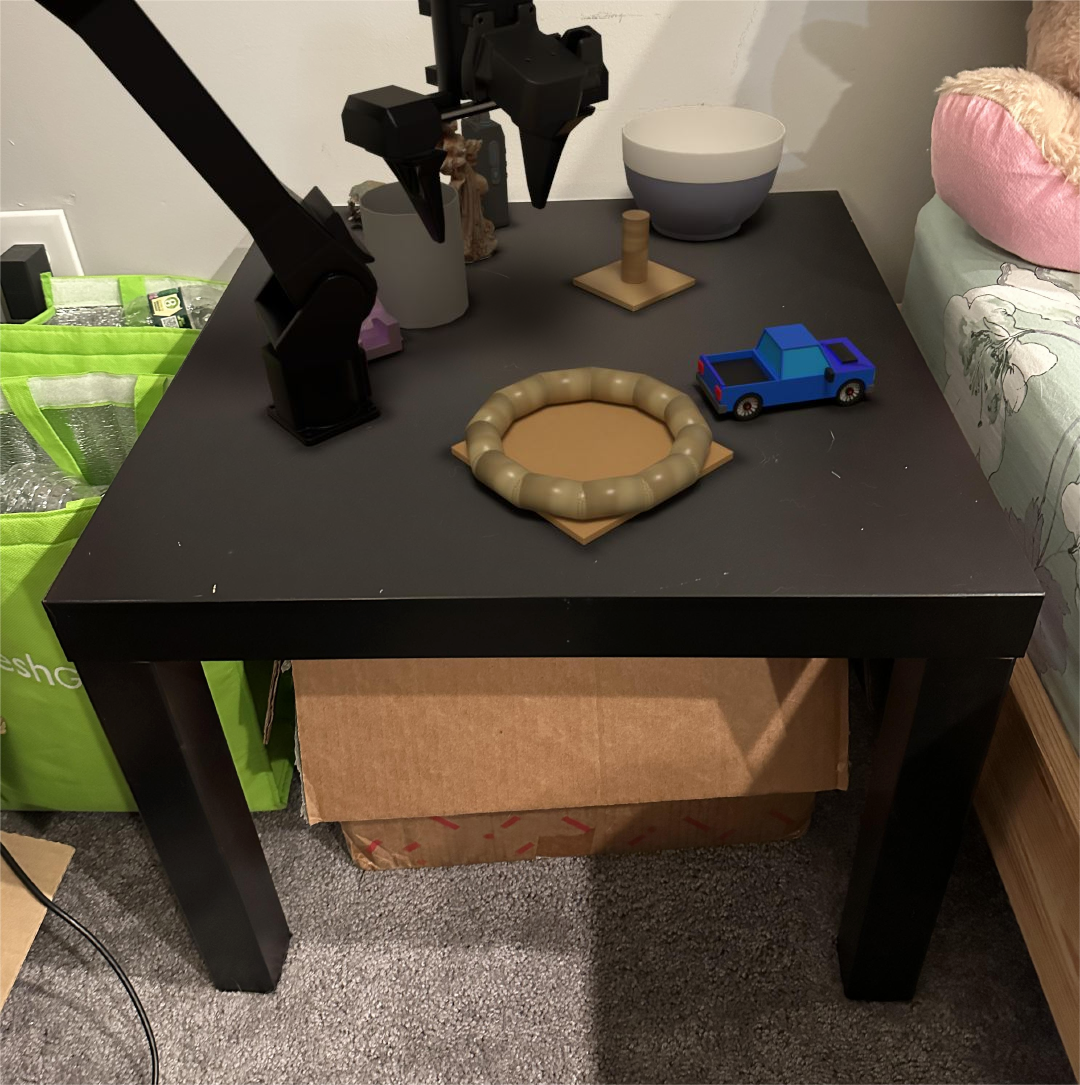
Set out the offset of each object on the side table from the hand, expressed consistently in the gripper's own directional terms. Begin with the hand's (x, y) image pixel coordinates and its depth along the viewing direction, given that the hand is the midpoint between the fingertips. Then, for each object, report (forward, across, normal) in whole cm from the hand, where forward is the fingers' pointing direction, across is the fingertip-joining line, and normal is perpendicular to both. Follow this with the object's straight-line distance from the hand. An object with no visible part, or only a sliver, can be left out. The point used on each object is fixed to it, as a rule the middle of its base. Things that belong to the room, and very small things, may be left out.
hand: (490, 224), depth 69 cm
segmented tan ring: (+10, -3, -14) cm, 18 cm away
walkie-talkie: (+12, +19, +26) cm, 34 cm away
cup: (+12, +2, +14) cm, 19 cm away
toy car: (+12, +13, -18) cm, 25 cm away
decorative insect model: (+12, +10, +33) cm, 37 cm away
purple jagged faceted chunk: (+12, -6, +12) cm, 18 cm away
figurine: (+12, +12, +21) cm, 27 cm away
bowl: (+12, +34, +10) cm, 37 cm away
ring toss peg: (+12, +19, +4) cm, 23 cm away
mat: (+12, -3, -14) cm, 19 cm away
